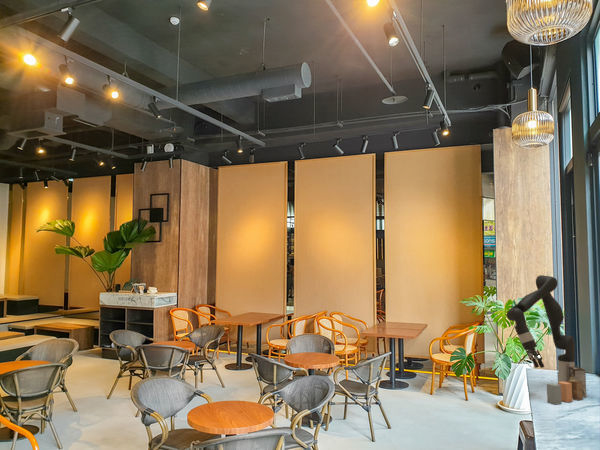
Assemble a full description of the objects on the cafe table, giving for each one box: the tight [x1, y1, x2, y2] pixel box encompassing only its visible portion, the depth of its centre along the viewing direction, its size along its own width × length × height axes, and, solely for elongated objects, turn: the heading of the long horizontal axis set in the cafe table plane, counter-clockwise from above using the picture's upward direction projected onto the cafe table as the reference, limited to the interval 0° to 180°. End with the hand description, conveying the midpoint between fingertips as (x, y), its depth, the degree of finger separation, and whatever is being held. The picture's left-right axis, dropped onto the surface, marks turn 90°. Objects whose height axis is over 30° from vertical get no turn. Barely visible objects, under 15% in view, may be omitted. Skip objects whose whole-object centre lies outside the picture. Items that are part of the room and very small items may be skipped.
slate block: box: [546, 382, 563, 405], centre depth 256 cm, size 5×5×10 cm
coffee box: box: [569, 366, 588, 399], centre depth 273 cm, size 9×6×16 cm
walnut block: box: [568, 380, 584, 401], centre depth 265 cm, size 5×5×10 cm
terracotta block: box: [557, 381, 573, 403], centre depth 260 cm, size 5×5×10 cm
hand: (539, 367), depth 268 cm, fingers open, 8 cm apart
